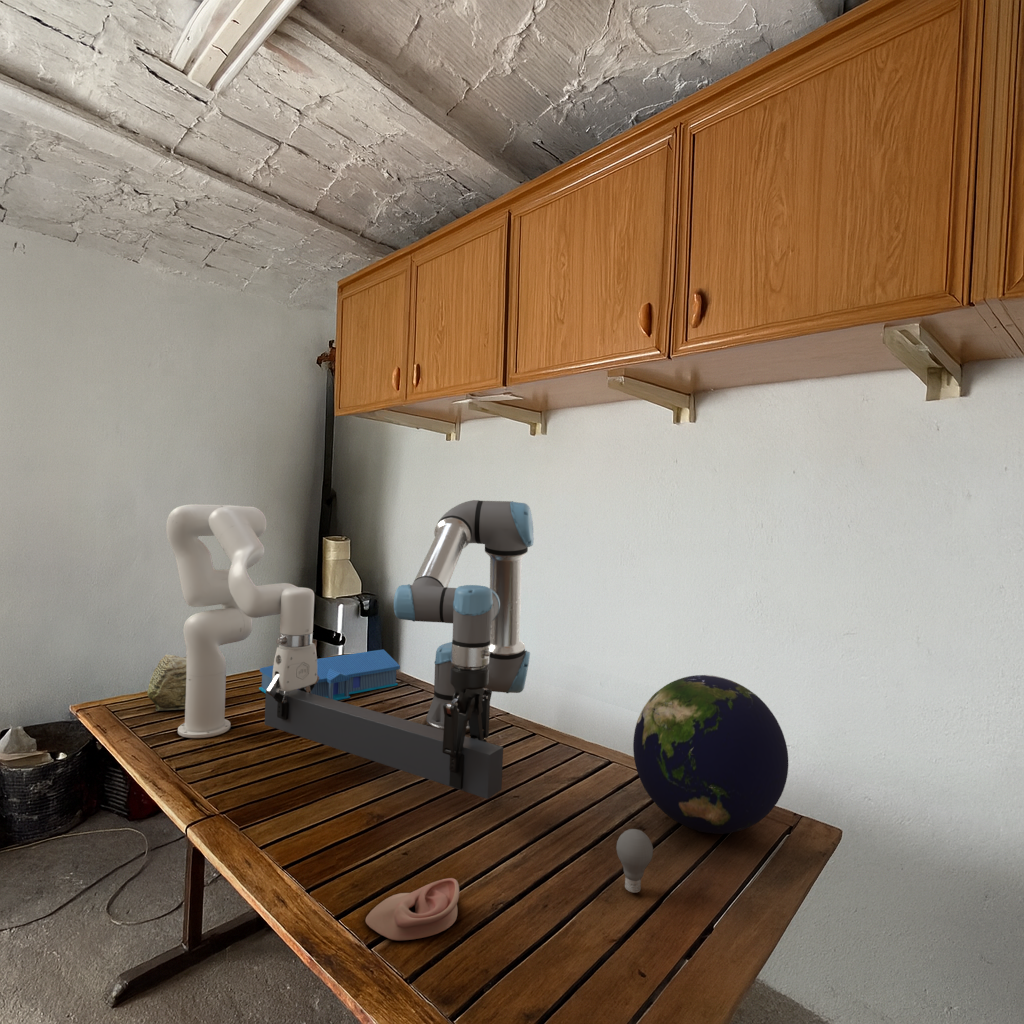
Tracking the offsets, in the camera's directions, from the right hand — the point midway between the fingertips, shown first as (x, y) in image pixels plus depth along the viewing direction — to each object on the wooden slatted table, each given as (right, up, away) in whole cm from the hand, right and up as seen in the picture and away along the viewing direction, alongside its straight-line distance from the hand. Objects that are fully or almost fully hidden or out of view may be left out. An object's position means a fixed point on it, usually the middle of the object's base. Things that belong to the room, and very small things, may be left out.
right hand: (464, 781), depth 125 cm
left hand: (-43, +5, +26) cm, 51 cm away
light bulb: (+29, -10, -20) cm, 37 cm away
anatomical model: (-6, -9, -29) cm, 31 cm away
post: (-22, 0, +13) cm, 25 cm away
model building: (-50, -5, +82) cm, 96 cm away
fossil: (-87, -4, +60) cm, 105 cm away
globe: (+49, -10, +3) cm, 50 cm away
